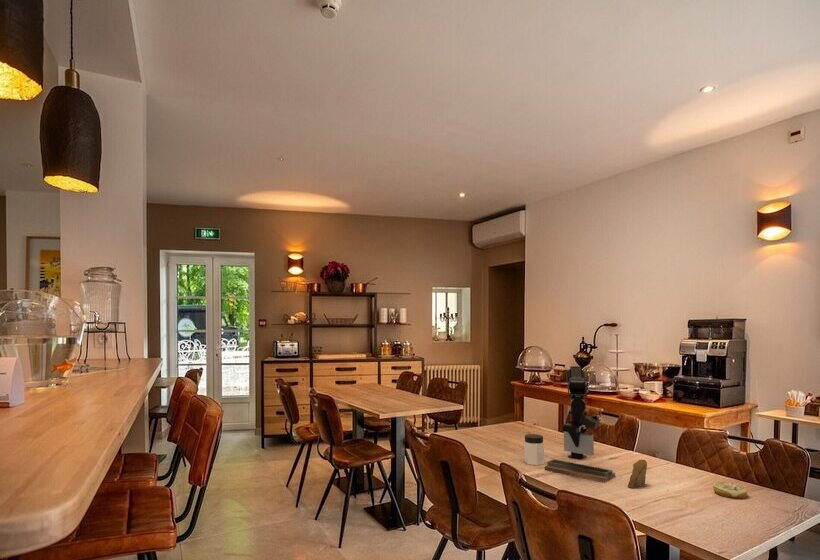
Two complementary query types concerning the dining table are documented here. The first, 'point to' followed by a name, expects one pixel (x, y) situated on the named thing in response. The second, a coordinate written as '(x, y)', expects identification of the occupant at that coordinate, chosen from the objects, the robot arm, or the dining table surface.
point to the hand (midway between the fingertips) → (578, 446)
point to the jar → (534, 449)
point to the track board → (579, 470)
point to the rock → (638, 474)
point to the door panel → (584, 444)
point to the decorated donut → (730, 490)
